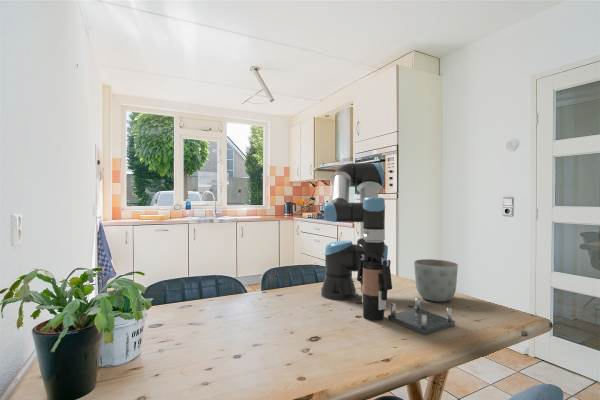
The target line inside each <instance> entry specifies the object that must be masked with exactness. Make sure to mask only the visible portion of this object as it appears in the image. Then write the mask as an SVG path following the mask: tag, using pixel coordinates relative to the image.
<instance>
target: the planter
mask: <svg viewBox="0 0 600 400" xmlns="http://www.w3.org/2000/svg"><path fill="white" fill-rule="evenodd" d="M413 263H414V278H415V279H414V280H415V288H416V291H417V293H418V294H419V296H420V297H421V298H423V299H425V300H427V301H430V302H431V301H432V302H435V303H436V302H438V303H442V302H448V301H450V300H451V299H453V297H454V296H455V294H456V290H457V282H458V281H457V279H458V269H459V264H458V263H456V262H453V261H450V260H443V259H430V258H426V259H425V258H424V259H417V260H414V261H413Z"/></svg>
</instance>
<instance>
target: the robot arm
mask: <svg viewBox="0 0 600 400" xmlns="http://www.w3.org/2000/svg"><path fill="white" fill-rule="evenodd" d="M330 182H331V185H332V190H331V197H330V201H329V202H326V203H324V205H323V208H324V209H323V210H324V211H323V215H324V216H323V218H324V220H325V221H326V222H329V223H330V222H331V223H332V222H333V223H342V222H343V223H359V225H360V228H359V229H360V236H359V238H358V239H356V240H357V241H356V243H353V241H352V240H338V241H331V242H329V243H327V244H326V246H325V253H324V255H325V262H324V263H325V268H324V269H325V273H324V274H325V276H324V280H323V283H322V286H321V291H320V292H321V296H322V297H323V298H326V299H329V300H339V301H340V300H341V301H343V300H350V299H354V298H355V297H356V296H357V290H356V286H355V283H354V280H353V272H357V274H356V275H357V276H356V280H357V282H359V283H360V289H361V290H360V293H361V303H362V304H363V260H364V261H366V262H372V263H381V262H382V271H383V273H382V274H380V273H378V278H379V286H380V290H379V310H383V309H384V310H386V309H387V300H388V291H390V290H393V283H392V273H391V262H392V261H391V260H390V259H388V251H389V246H388V245H387V244H386V243H385V241H386V236H385V234H386V232H385V231H386V230H385V229H386V228H385V223H386V221H385V219H386V216H385V215H386V204H385V201H386V200H385V198H384V197H379V192H380V191H381V190H382V187H384V186H385V172H384V167H383V165H382V164H381V163H380V162H379V163H378V162H370V163H369V162H367V163H364V162H363V163H361V162H359V163H353V162H350V163H346V164H343V165H341V166H339V167H338V168H337V169H336V170H335V171H334V172H333V174H332V176H331V181H330ZM350 187H352V188H353V187H355V188H356V190H357V191H358V193H359V196H360V197H359V202H350ZM383 286H384V287H383Z"/></svg>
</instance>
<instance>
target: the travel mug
mask: <svg viewBox="0 0 600 400" xmlns="http://www.w3.org/2000/svg"><path fill="white" fill-rule="evenodd" d="M378 273H380V274H382V273H383V271H382V262H381V263H372V262H366V261H364V260H363V303H362V315H363V318H364V319H365V320H368V321H370V322H371V321H372V322H380V321H383V320H384V319H385V309H383V310H379V290H380V286H379V278H378ZM383 287H384V286H383Z"/></svg>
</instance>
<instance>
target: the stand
mask: <svg viewBox="0 0 600 400" xmlns="http://www.w3.org/2000/svg"><path fill="white" fill-rule="evenodd" d="M414 299H415V302H414V303H415V304H414V305H415V306H414V307H415V308H412V309H407V310H404V311H403V310H402V311H399V312H397V310H396V305H397V304H396V303H393V302H391V303H390V314H388V315H387V319H388V321H391V322H393V323H396V324H397V325H400V326H402V327H405V328H407V329H410V330H412V331H415V332H417V333H419V334H421V335H422V336H423V335H424V336H426V335H429V334H433V333H437V332H439V331H443V330H445V329H448V328H451V327H455V325H456V323H455V322H456V321H455V320H453V319H452V318H453V315H452V314H453V313H452V312H453V310H452V309H453V308H451V307H446V317H444V316H441V315H440V314H439V315H438V314H436V313H433V312H430V311H427V310H424V309H422V308H421V298H420V297H415V298H414Z"/></svg>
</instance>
